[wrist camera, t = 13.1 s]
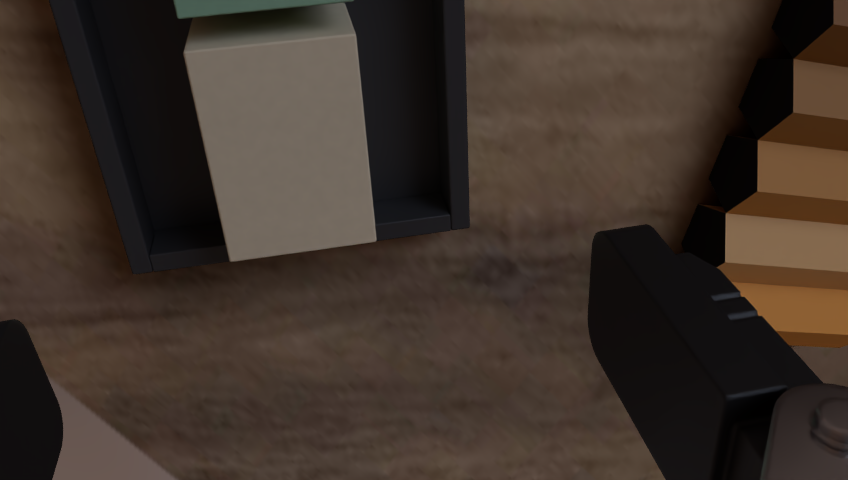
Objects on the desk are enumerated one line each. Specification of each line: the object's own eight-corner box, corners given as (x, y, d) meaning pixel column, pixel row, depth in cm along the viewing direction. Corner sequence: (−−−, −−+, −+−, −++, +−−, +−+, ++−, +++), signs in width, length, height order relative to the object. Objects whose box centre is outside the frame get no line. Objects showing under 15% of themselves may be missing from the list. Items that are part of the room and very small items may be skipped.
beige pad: (232, 210, 32) (229, 263, 28) (192, 17, 28) (182, 51, 24) (365, 193, 32) (377, 242, 29) (344, 1, 28) (356, 33, 25)
